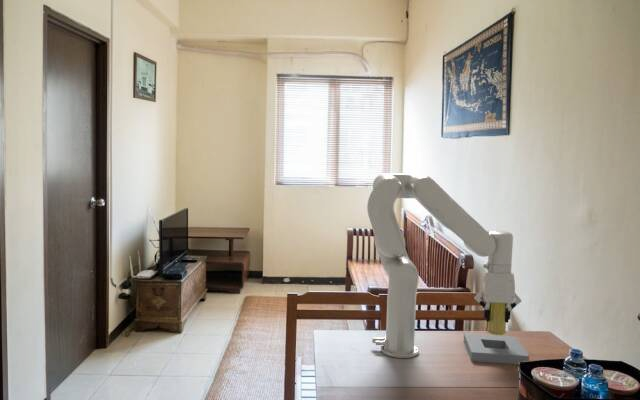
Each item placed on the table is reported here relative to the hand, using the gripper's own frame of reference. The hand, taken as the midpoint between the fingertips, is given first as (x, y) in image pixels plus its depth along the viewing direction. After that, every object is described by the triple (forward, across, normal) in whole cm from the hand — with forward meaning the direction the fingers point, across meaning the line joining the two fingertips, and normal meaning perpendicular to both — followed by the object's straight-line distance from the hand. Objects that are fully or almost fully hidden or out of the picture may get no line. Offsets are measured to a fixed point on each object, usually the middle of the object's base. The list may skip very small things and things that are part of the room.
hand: (496, 320), depth 186 cm
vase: (+4, 0, 0) cm, 4 cm away
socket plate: (+11, 0, 0) cm, 11 cm away
